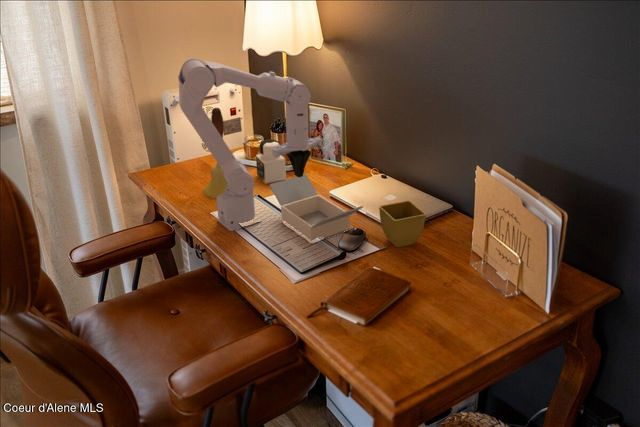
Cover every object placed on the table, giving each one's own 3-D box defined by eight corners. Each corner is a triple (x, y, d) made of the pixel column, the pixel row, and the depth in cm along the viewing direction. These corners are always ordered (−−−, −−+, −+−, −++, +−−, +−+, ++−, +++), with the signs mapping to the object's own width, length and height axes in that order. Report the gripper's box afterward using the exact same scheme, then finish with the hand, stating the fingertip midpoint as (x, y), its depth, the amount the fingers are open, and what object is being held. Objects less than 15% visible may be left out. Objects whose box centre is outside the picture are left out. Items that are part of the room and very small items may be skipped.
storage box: (311, 244, 148) (310, 226, 146) (281, 222, 158) (281, 206, 156) (349, 230, 154) (349, 213, 152) (318, 210, 164) (318, 194, 162)
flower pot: (377, 237, 151) (378, 205, 147) (407, 230, 153) (409, 199, 149) (392, 253, 143) (394, 220, 139) (424, 246, 146) (427, 214, 142)
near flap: (311, 226, 145) (312, 228, 145) (323, 218, 140) (324, 220, 139) (349, 213, 151) (350, 215, 151) (362, 205, 145) (363, 207, 145)
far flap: (269, 184, 158) (269, 185, 159) (281, 205, 156) (280, 206, 156) (305, 174, 164) (305, 174, 164) (317, 194, 162) (316, 194, 162)
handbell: (195, 188, 179) (186, 107, 167) (231, 177, 185) (224, 99, 174) (215, 202, 170) (206, 118, 158) (252, 191, 176) (246, 109, 165)
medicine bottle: (256, 175, 186) (254, 139, 181) (278, 171, 189) (276, 136, 184) (264, 184, 181) (262, 147, 175) (286, 179, 183) (284, 143, 178)
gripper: (281, 137, 147) (283, 187, 153) (328, 126, 154) (329, 174, 161) (267, 130, 152) (269, 178, 159) (313, 119, 160) (314, 166, 166)
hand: (298, 175), depth 160 cm, fingers closed
